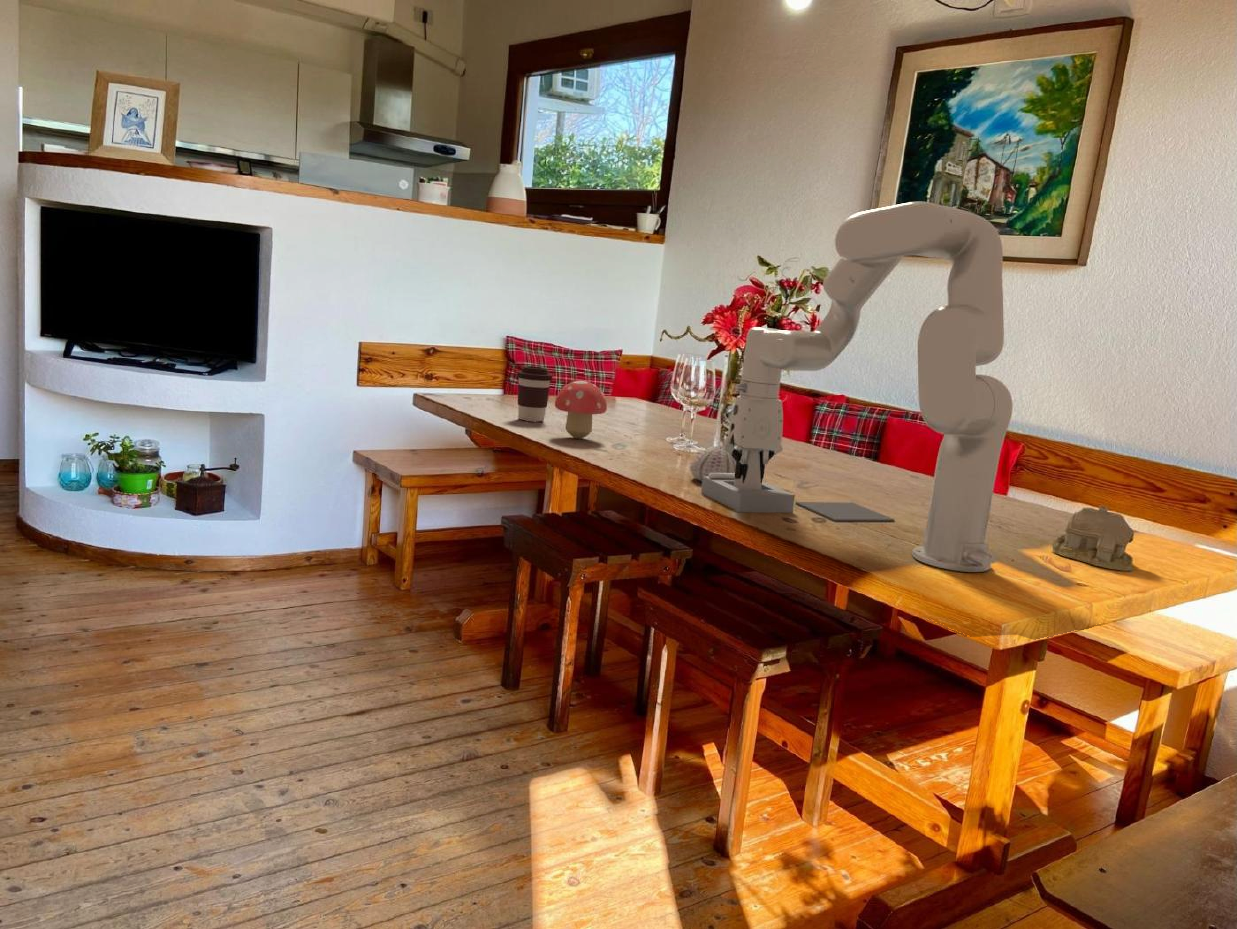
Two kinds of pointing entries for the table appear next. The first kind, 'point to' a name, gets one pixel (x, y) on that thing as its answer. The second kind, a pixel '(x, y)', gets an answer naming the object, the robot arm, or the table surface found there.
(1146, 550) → the table surface
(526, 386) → the coffee cup
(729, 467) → the sea urchin shell
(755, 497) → the caddy
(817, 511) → the mat
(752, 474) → the salt shaker
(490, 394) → the table surface
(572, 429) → the decorative mushroom
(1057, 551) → the ceramic model
